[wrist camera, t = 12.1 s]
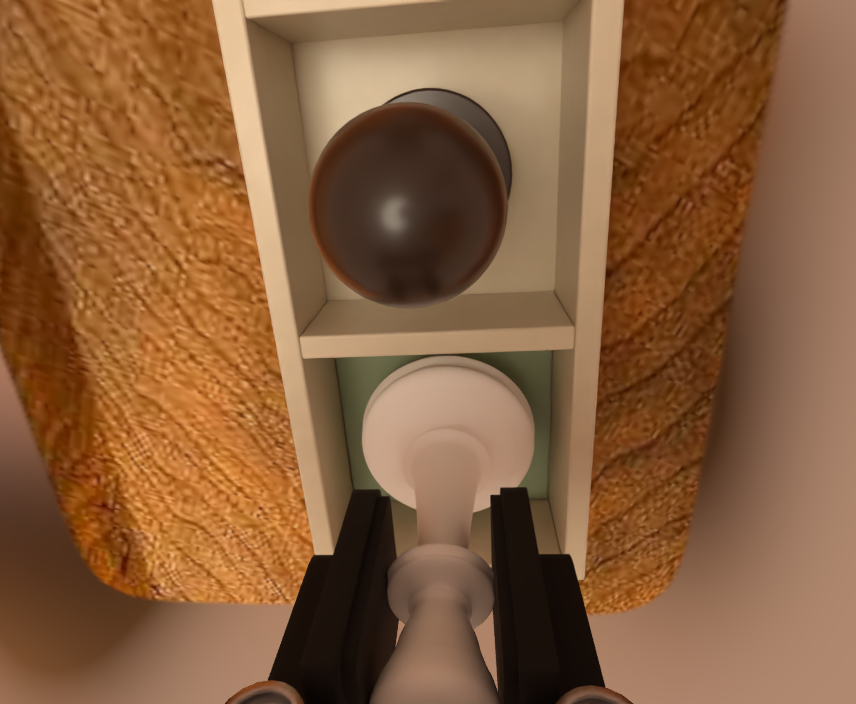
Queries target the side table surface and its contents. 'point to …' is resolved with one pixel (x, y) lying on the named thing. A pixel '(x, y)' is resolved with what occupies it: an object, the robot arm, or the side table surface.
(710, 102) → the side table surface
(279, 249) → the rack
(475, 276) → the pawn
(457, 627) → the chess piece
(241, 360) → the side table surface
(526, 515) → the robot arm
